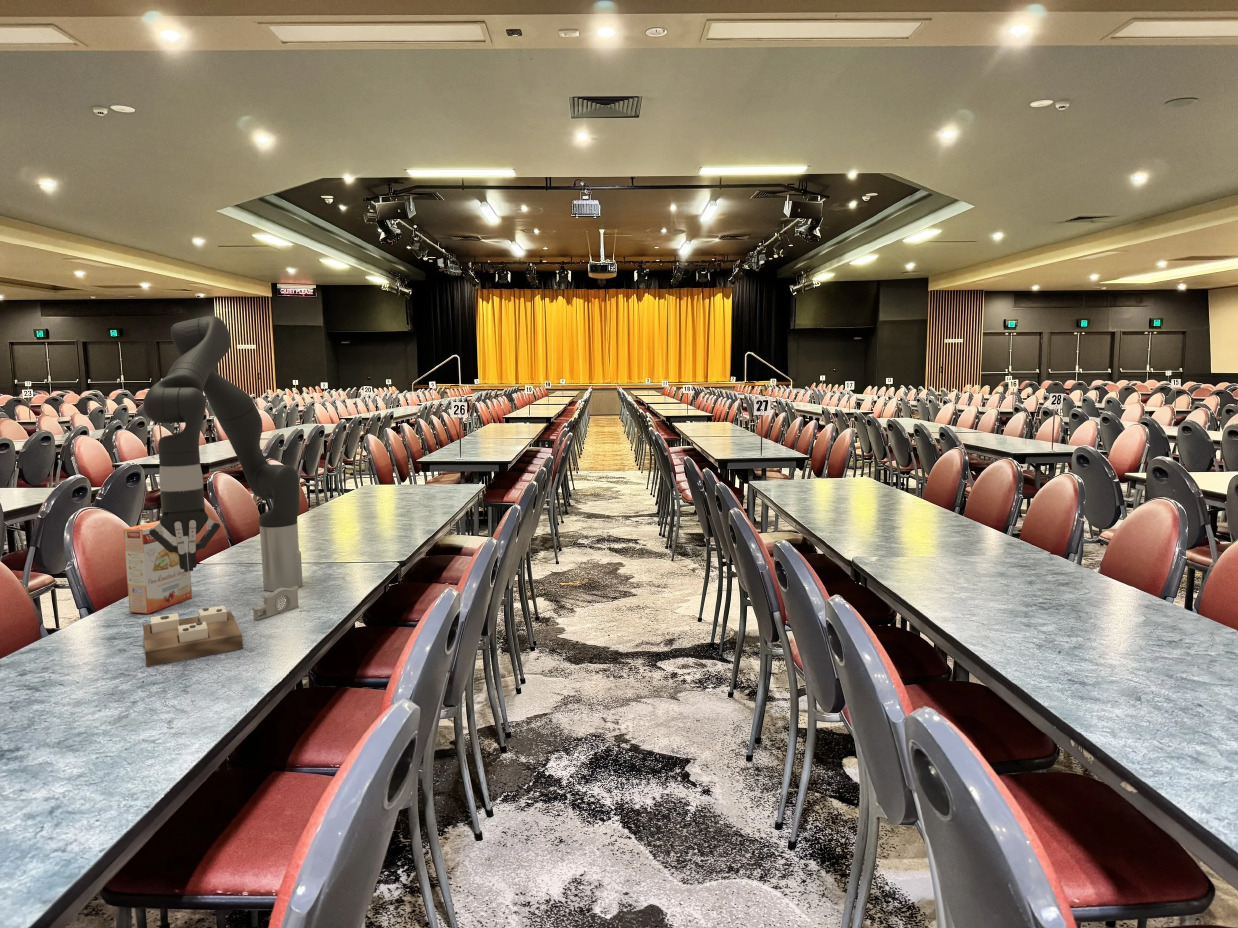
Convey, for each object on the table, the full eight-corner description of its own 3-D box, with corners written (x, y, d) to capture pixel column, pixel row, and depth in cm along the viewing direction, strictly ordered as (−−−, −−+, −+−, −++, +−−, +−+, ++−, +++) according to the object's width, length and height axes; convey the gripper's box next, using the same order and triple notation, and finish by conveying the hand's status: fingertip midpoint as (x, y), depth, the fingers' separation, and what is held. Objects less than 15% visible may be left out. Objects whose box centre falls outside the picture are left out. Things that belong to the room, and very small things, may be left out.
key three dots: (206, 637, 155) (205, 620, 155) (208, 644, 151) (207, 626, 150) (179, 642, 152) (177, 624, 152) (180, 649, 148) (179, 631, 148)
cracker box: (149, 614, 175) (142, 529, 172) (128, 613, 176) (121, 528, 174) (194, 597, 188) (188, 517, 186) (174, 596, 190) (168, 517, 187)
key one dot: (178, 628, 161) (177, 611, 160) (180, 634, 157) (179, 617, 156) (151, 632, 158) (150, 615, 157) (152, 639, 154) (151, 622, 153)
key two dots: (225, 620, 166) (223, 604, 165) (227, 626, 162) (226, 610, 161) (199, 624, 163) (198, 608, 162) (201, 631, 159) (200, 614, 158)
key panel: (231, 623, 168) (231, 610, 168) (243, 648, 153) (242, 634, 152) (144, 638, 159) (142, 625, 159) (146, 666, 143) (145, 651, 143)
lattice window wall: (256, 621, 170) (255, 596, 169) (251, 620, 171) (250, 595, 170) (300, 606, 181) (299, 583, 180) (295, 605, 181) (294, 582, 181)
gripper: (217, 482, 154) (222, 562, 156) (142, 487, 147) (149, 571, 149) (221, 486, 148) (227, 569, 150) (143, 492, 141) (150, 579, 143)
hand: (188, 570), depth 150 cm, fingers closed
